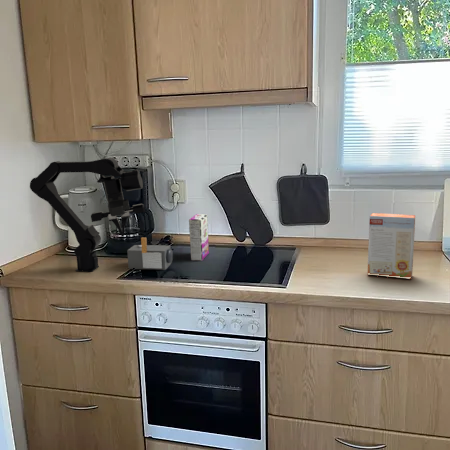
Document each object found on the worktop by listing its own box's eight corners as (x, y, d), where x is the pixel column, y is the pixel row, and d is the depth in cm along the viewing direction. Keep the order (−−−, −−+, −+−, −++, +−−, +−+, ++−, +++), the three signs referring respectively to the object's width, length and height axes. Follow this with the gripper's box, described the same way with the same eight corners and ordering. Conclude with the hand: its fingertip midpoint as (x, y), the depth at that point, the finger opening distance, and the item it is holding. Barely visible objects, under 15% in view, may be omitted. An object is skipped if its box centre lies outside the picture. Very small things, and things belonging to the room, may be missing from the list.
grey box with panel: (128, 268, 172) (127, 248, 171) (135, 262, 180) (134, 243, 179) (168, 269, 170) (167, 249, 169) (174, 263, 178) (173, 244, 176)
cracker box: (412, 275, 158) (416, 214, 154) (411, 280, 153) (415, 217, 149) (369, 271, 164) (372, 212, 160) (366, 275, 159) (369, 215, 155)
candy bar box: (197, 253, 192) (196, 213, 189) (209, 253, 191) (208, 213, 188) (189, 260, 182) (188, 219, 178) (202, 261, 181) (201, 219, 177)
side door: (142, 268, 170) (141, 238, 168) (143, 267, 171) (142, 237, 169) (161, 268, 169) (160, 238, 167) (162, 267, 170) (160, 237, 168)
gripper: (85, 199, 157) (95, 244, 159) (141, 189, 160) (150, 233, 163) (88, 197, 168) (97, 240, 170) (140, 188, 171) (148, 230, 174)
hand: (123, 236), depth 169 cm, fingers closed
